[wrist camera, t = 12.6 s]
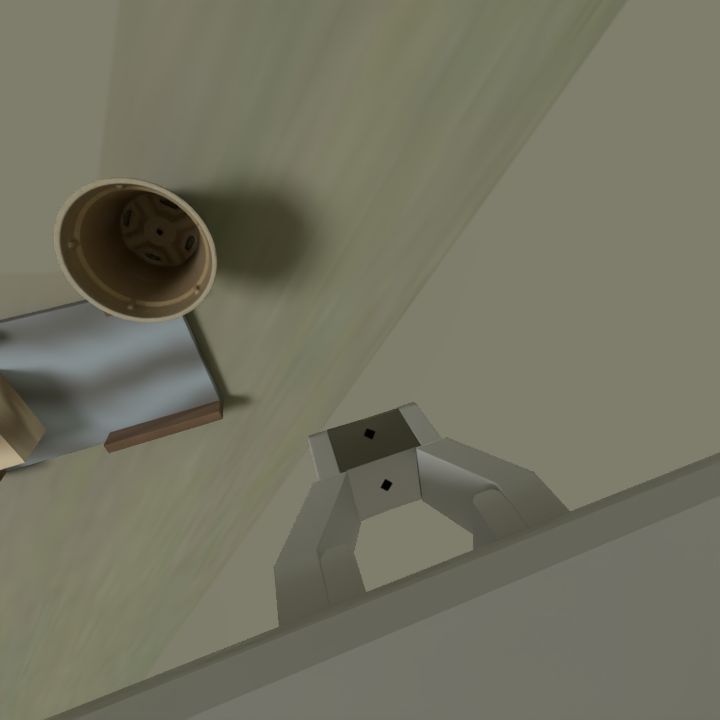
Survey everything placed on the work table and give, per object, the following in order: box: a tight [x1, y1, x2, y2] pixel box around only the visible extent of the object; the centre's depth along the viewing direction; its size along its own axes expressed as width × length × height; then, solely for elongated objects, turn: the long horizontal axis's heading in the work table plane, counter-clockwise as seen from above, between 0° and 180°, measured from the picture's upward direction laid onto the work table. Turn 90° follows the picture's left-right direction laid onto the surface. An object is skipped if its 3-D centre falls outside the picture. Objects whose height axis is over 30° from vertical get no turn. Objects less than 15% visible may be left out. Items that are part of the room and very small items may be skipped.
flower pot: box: [54, 177, 217, 323], centre depth 29 cm, size 9×9×9 cm
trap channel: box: [0, 300, 223, 481], centre depth 35 cm, size 14×24×3 cm, turn 100°
